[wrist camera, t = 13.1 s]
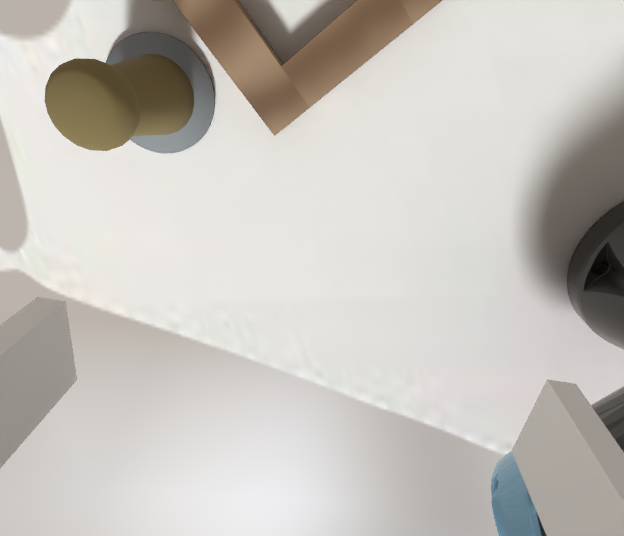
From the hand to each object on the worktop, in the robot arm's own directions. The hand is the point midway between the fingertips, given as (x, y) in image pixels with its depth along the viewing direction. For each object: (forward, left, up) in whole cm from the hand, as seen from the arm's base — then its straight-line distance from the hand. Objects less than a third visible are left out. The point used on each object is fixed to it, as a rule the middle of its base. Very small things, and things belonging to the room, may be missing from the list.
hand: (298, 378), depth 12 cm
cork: (+13, +8, -26) cm, 30 cm away
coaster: (+13, +8, -27) cm, 31 cm away
